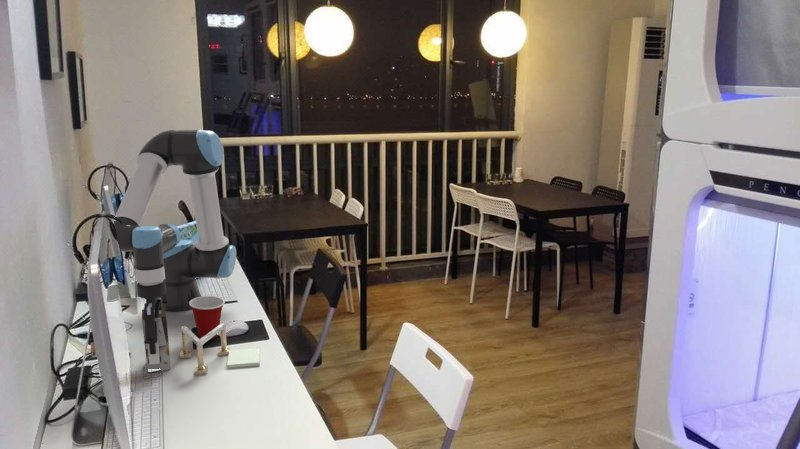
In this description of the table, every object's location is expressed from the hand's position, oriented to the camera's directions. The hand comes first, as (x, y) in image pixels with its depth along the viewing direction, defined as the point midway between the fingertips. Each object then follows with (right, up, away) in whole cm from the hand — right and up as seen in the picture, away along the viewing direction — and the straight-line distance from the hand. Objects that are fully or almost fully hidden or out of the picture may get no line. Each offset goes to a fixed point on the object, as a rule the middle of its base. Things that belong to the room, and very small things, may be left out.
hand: (157, 355), depth 182 cm
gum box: (-17, +15, +79) cm, 82 cm away
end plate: (+24, -2, +4) cm, 24 cm away
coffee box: (0, -3, +1) cm, 3 cm away
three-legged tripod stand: (+12, -2, +3) cm, 13 cm away
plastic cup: (+8, +2, +21) cm, 23 cm away
